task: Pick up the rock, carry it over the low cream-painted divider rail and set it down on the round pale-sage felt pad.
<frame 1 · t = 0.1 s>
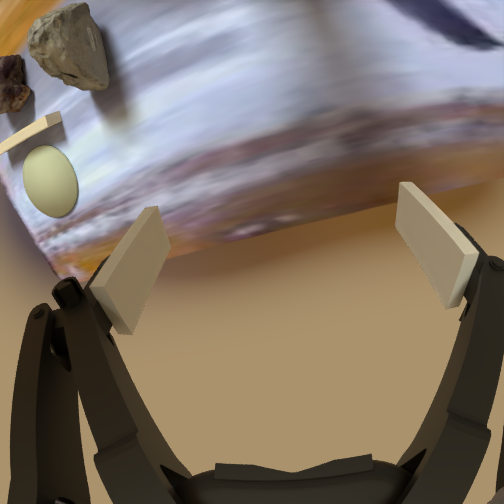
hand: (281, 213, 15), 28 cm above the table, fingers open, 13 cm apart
decorative rock: (96, 47, 30), on the table
felt pad: (48, 181, 43), on the table
divider rail: (29, 132, 37), on the table
rock: (17, 84, 31), on the table
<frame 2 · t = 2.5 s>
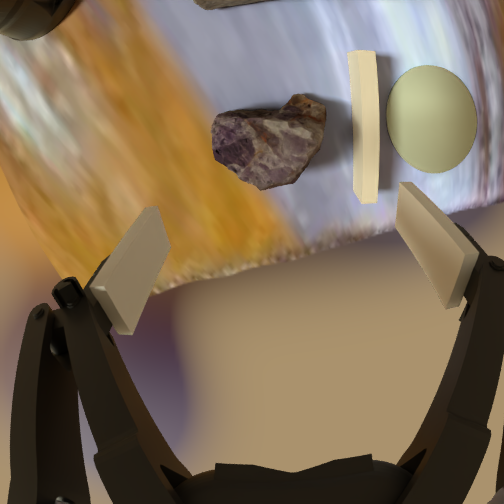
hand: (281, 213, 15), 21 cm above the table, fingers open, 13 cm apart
felt pad: (434, 119, 28), on the table
divider rail: (360, 123, 30), on the table
rock: (271, 134, 32), on the table
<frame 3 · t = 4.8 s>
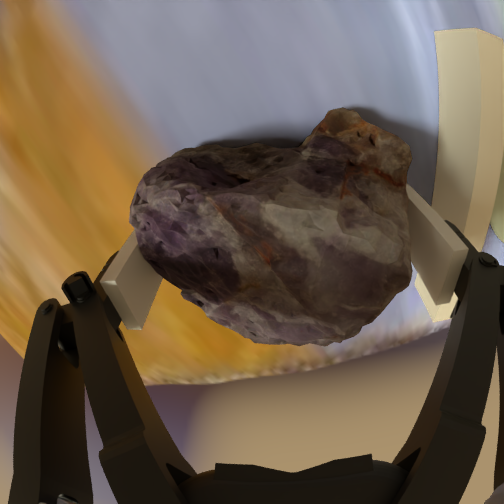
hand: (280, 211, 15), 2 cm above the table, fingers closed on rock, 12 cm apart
divider rail: (447, 173, 14), on the table
rock: (279, 192, 16), on the table, touching gripper
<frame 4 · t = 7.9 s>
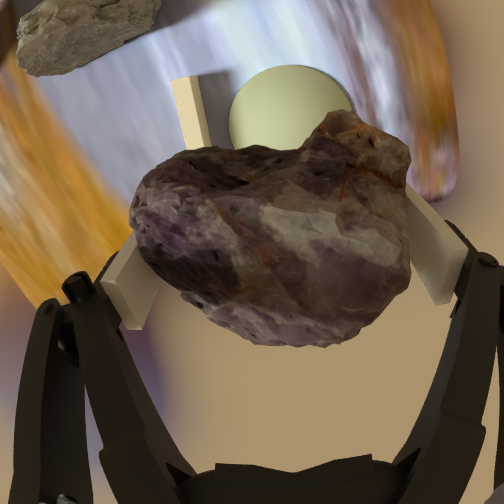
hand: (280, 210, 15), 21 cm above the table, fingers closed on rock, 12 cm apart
decorative rock: (110, 31, 24), on the table
felt pad: (292, 125, 31), on the table
divider rail: (203, 146, 33), on the table
rock: (279, 193, 16), point 19 cm above the table, touching gripper
when the fingers open (3 cm above the table, at t = 11.2 s): rock moves 1 cm, resting on felt pad.
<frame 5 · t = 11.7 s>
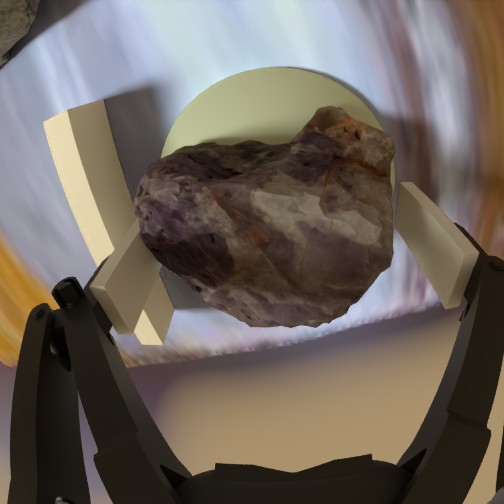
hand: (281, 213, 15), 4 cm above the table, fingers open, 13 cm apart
felt pad: (278, 187, 18), on the table
divider rail: (127, 221, 19), on the table
rock: (273, 186, 17), resting on felt pad
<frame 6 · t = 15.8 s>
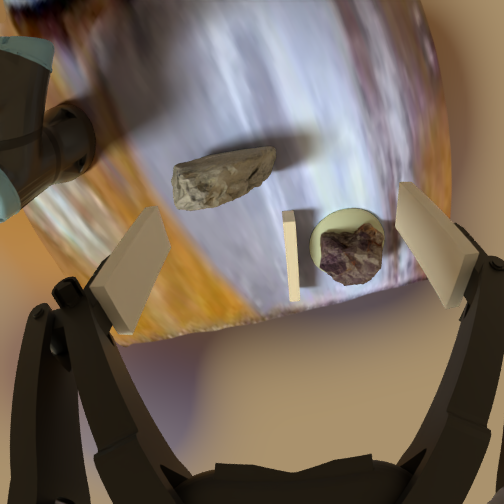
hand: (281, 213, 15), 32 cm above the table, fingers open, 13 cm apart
decorative rock: (226, 162, 45), on the table
felt pad: (347, 243, 53), on the table
divider rail: (291, 252, 55), on the table
rock: (346, 243, 52), resting on felt pad
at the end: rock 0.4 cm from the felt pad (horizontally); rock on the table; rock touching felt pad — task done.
